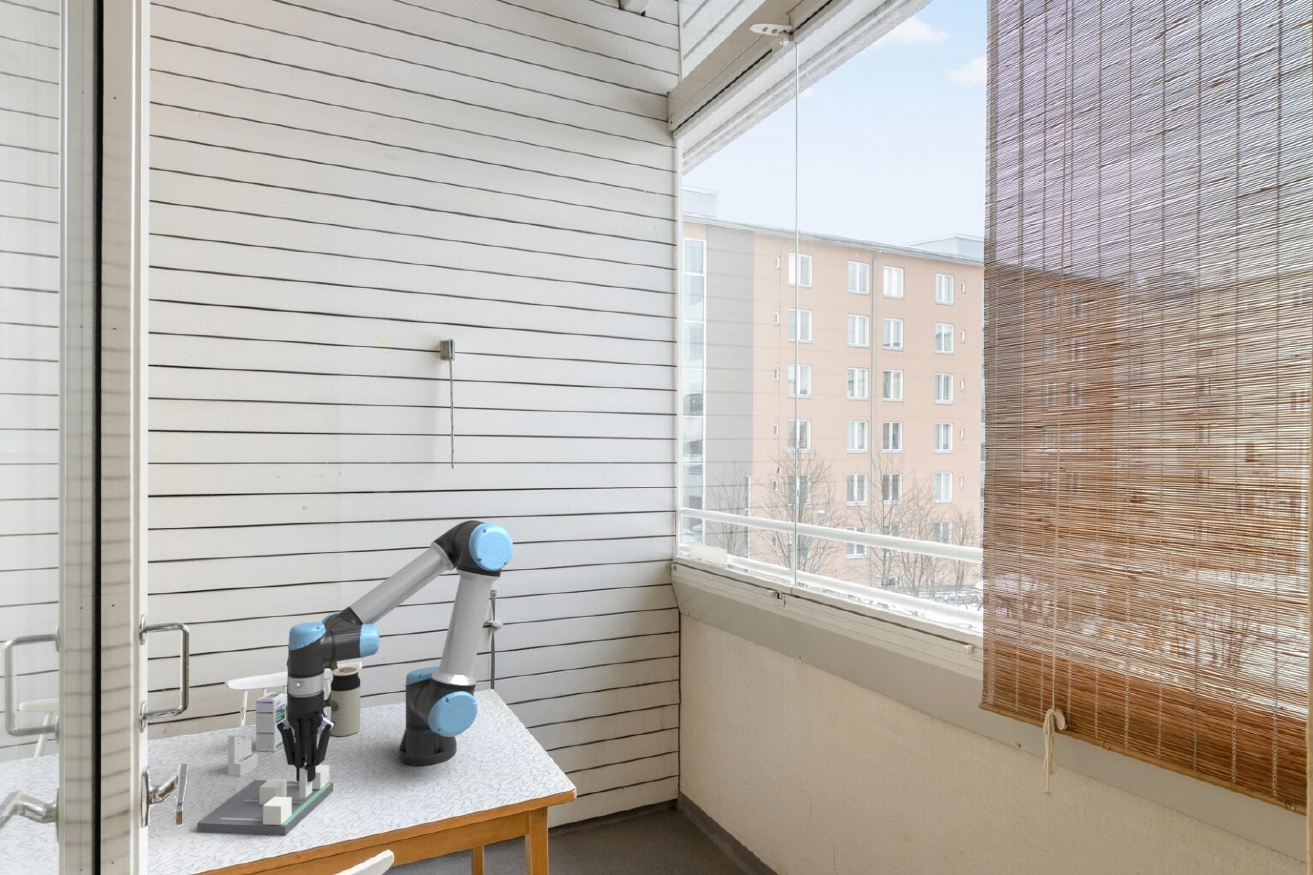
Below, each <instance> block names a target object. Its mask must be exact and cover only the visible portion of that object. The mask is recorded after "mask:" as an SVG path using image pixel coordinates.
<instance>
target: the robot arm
mask: <svg viewBox="0 0 1313 875" xmlns="http://www.w3.org/2000/svg"><path fill="white" fill-rule="evenodd" d="M513 544H514V543H513V540H512V537H511V536H510V534H509V533H508V531H507V530H506V529H504V528H503V527H502V526H499V525H497V524H495V523H492V522H491V523H489V522H484V521H479V520H473V519H471V520H469V519H468V520H465V521H462V522H460V523H458V524H457V525H455V526H453V527H452V528H450V529H448V530H447V531H446V532H445V533H443V534H442V535H440V536H438V537H437V538H435V539H434V540H433V541H432V542H431V543H430V546H429V548H428V549H427V550H425V551H424V552H423V553H422V554H420V555H418V556H417V557H415V558H414V559H413V560H411V561H410V562H409V563H407V564H406V565H405V566H403V567H402V568H400V569H399V570H398V571H396V572H394V573H393V574H392V575H391V576H389V577H388V578H386V579H385V580H384V581H382V582H381V583H380V584H378V585H377V586H375V587H374V588H373V589H371V590H370V591H368V592H367V593H366V594H364V595H362V596H361V597H360V598H358V599H357V600H356V601H354V602H353V603H352V604H350V605H348V606H347V607H346V608H344V609H343V610H342V611H339V612H334V613H331V614H328V615H326V616H325V617H324V618H323V619H322V620H321V622H318V621H312V622H309V621H308V622H303V623H298V624H295V625H294V626H292V627H291V628H290V629H289V635H288V644H287V649H288V650H287V652H288V657H287V660H288V663H289V676H288V675H287V678H288V692H289V693H290V695H289V696H288V711H289V714H288V716H287V719H286V720H283V721H282V722H280V723H279V724H277V728H278V730H279V731H280V733H281V736H282V740H283V745H284V746H283V749H284V753H285V757H286V762H287V765H288V766H294V767H295V771H296V772H295V776H296V778H295V780H296V782H300V786H299V798H306V797H307V796H308V795H309V794H311V793H312V781H313V780H314V779H315V777H316V766H318V765H321V764H322V763H323V762H324V761H325V758H326V754H327V750H328V745H329V741H330V737H331V735H332V734H331V730H332V729H333V727H334V726H335V721H331V720H329V719H327V717H326V716H327V715H326V714H325V710H324V709H325V708H324V700H325V691H324V689H325V669H324V667H325V663H331V662H337V663H338V662H341V661H349V660H355V659H364V658H366V657H371V656H374V655H375V654H377V652H378V651H379V647H380V633H379V629H378V627H377V625H375V624H376V623H377V622H378V621H380V620H381V619H382V618H384V617H385V616H387V615H388V614H389V613H390V612H392V611H394V609H396V608H397V607H398V606H400V605H402V603H404V602H405V601H407V600H408V599H409V598H411V597H412V596H414V595H415V594H416V593H417V592H419V591H420V590H422V589H423V588H425V587H426V586H427V585H428V584H431V582H432V581H434V580H435V579H436V578H438V577H439V576H441V575H443V573H445V572H446V571H450V572H451V571H454V570H456V573H457V574H458V575H459V581H458V586H457V589H456V590H457V591H456V593H455V598H454V604H453V607H452V612H451V616H450V621H449V624H448V629H447V634H446V638H445V642H444V647H443V650H442V655H441V659H440V663H439V666H427V667H422V668H417V669H414V670H411V671H410V672H409V673H407V675H406V678H405V684H404V687H405V729H404V731H403V735H402V737H401V741H400V743H399V746H398V760H399V761H400V762H401V763H403V764H405V765H409V766H419V767H420V766H421V767H422V766H431V765H436V764H440V763H443V762H446V761H448V760H450V759H451V758H452V757H454V756H455V755H456V753H457V747H458V746H457V739H456V737H457V736H459V735H461V734H464V732H465V731H466V730H468V729H469V728H471V726H472V725H473V724H474V722H475V720H476V717H477V716H478V711H479V710H478V704H477V700H476V698H475V697H474V695H475V689H476V686H477V685H476V684H477V680H476V678H475V676H474V674H473V671H474V669H475V668H474V667H475V665H476V664H475V662H476V658H477V655H478V650H479V645H480V640H481V638H482V636H481V635H482V631H483V627H484V623H485V619H486V615H487V610H488V605H489V601H490V596H491V593H492V587H493V584H494V583H495V582H496V581H497V580H499V579H500V578H501V574H502V569H503V568H504V567H505V566H506V565H508V564H509V562H510V560H511V559H512V556H513V552H514V545H513ZM320 726H321V732H320V736H319V739H318V734H319V729H320Z"/></svg>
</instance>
